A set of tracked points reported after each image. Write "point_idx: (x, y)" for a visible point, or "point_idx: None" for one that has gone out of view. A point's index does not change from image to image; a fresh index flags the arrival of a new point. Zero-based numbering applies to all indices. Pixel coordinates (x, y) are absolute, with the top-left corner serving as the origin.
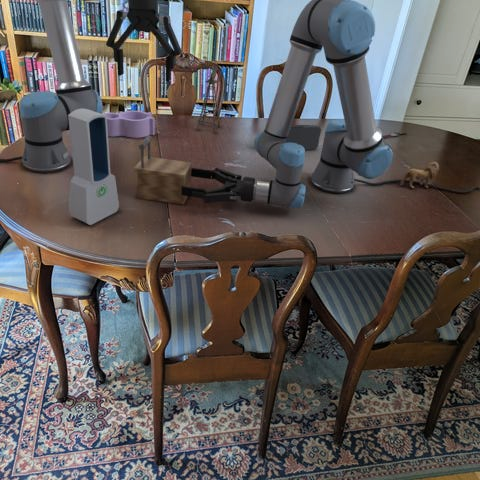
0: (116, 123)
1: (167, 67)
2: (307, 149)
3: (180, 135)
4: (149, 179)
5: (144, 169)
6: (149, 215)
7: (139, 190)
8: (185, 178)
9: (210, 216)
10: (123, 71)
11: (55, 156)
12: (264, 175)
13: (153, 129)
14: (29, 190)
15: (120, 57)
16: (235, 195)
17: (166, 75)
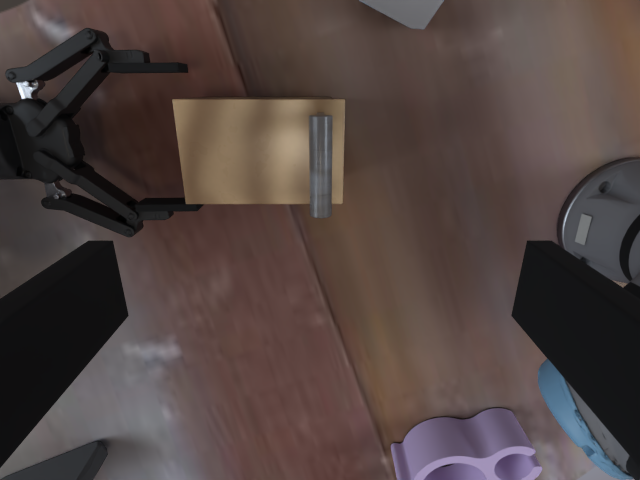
0: (491, 442)
1: (6, 305)
2: (15, 473)
3: (329, 461)
4: (294, 98)
5: (309, 99)
6: (270, 2)
7: (327, 97)
8: None
9: None
10: (521, 320)
11: (611, 199)
12: None
13: (395, 456)
14: (631, 47)
15: (638, 354)
16: (10, 70)
17: (74, 262)
